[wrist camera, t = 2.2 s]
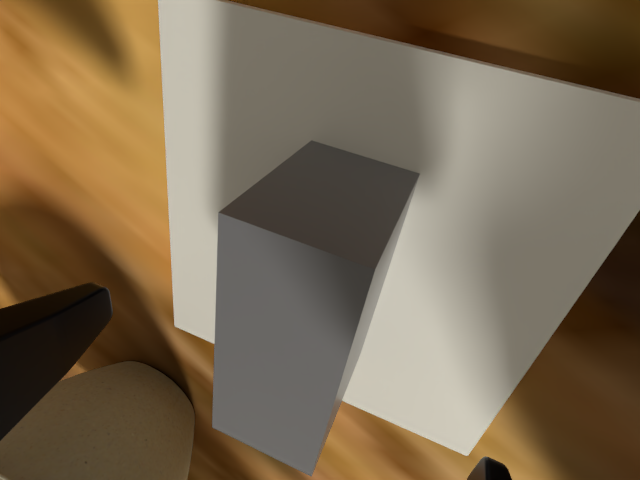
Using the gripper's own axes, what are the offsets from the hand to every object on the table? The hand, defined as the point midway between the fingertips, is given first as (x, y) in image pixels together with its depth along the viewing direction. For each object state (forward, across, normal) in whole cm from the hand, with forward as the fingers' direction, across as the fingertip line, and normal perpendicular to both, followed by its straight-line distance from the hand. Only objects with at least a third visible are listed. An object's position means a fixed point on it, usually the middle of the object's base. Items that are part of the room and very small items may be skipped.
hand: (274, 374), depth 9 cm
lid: (+6, 0, 0) cm, 6 cm away
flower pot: (+5, +8, +13) cm, 16 cm away
